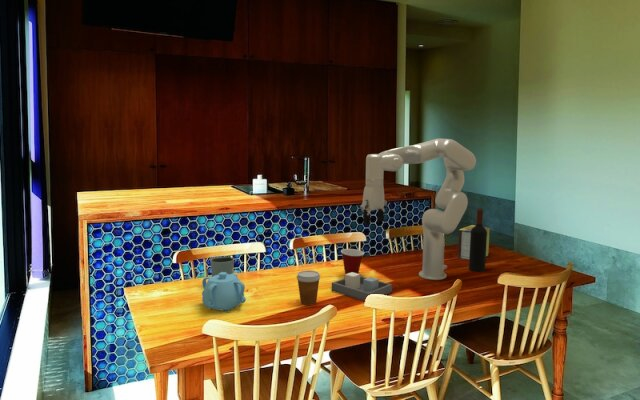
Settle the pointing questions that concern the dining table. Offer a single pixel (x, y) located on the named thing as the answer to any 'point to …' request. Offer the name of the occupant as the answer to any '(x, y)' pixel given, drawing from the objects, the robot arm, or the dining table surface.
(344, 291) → the tray
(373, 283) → the blue block
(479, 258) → the wine bottle
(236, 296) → the decorative pot
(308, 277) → the disposable coffee cup
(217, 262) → the drinking glass
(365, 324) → the dining table surface
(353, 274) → the cream block
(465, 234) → the protein box
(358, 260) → the plastic cup
